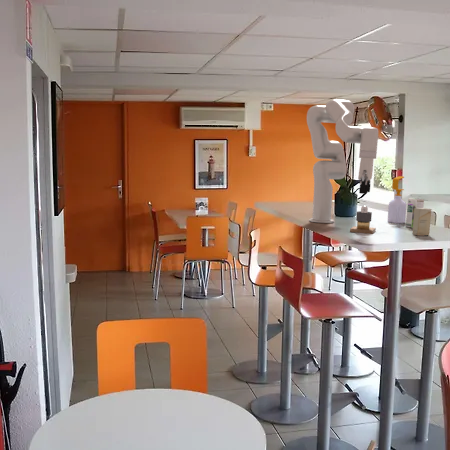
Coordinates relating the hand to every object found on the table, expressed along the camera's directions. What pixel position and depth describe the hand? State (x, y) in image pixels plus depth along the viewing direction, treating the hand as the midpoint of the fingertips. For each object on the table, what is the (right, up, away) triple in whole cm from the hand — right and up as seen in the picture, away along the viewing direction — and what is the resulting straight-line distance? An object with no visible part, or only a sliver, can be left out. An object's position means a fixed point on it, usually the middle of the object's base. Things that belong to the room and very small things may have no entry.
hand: (364, 192), depth 255 cm
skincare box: (+25, -20, -3) cm, 32 cm away
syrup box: (+31, -16, +25) cm, 42 cm away
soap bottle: (+28, -14, +44) cm, 54 cm away
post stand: (0, -18, +2) cm, 18 cm away
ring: (0, -13, +1) cm, 13 cm away
